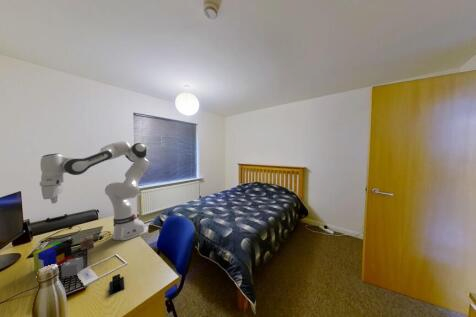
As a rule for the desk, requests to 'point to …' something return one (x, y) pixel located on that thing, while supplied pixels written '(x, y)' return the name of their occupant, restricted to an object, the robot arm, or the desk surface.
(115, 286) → the black irregular block
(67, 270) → the grey block
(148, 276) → the desk surface
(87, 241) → the walnut block
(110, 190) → the robot arm
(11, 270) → the desk surface
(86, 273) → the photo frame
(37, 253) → the puzzle toy
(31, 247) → the desk surface
